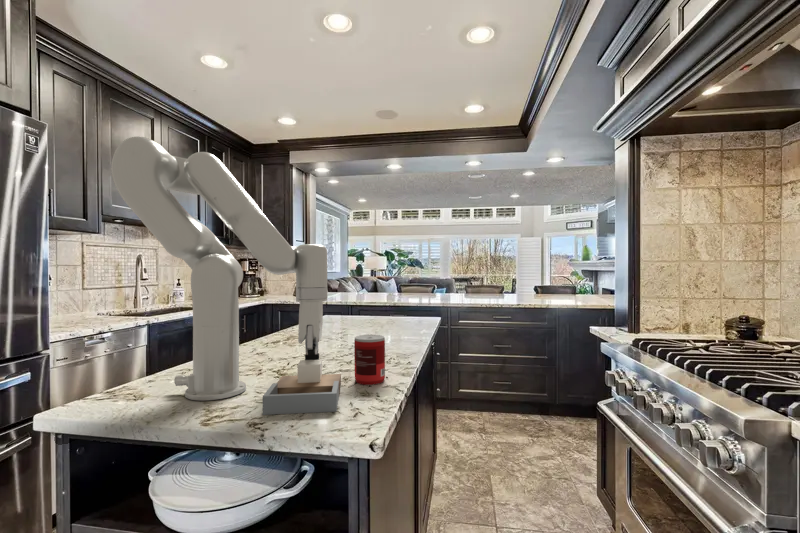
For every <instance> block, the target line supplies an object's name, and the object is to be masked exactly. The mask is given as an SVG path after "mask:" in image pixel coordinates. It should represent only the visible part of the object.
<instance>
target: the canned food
mask: <svg viewBox="0 0 800 533" xmlns="http://www.w3.org/2000/svg"><path fill="white" fill-rule="evenodd" d="M353 344H354V355H353V356H354V380H355V382H356V383H357V384H359V385H364V386H371V385H373V384H374V385H378V384H379V385H380V384H382V383H384V381H385V379H386V339H385V335H380V334H361V335H356V336H354V342H353ZM374 385H373V386H374Z"/></svg>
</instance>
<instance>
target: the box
mask: <svg viewBox="0 0 800 533" xmlns="http://www.w3.org/2000/svg"><path fill="white" fill-rule="evenodd" d="M339 397H340V393H339V381H334V384H333V389H332V392H321V393H296V394H278V383H277V382H276V383H275V382H274V383H272V384H271V385H270V386H269V387H268V389H267V390H266V392H265V393H264V394H263V395H262V416H264V415H266V416H267V415H269V416H270V415H286V414H289V415H291V414H312V413H331V412H337V411H338V406H339V399H340V398H339Z"/></svg>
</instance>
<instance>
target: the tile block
mask: <svg viewBox="0 0 800 533" xmlns="http://www.w3.org/2000/svg"><path fill="white" fill-rule="evenodd" d="M297 375H298V383H311V382H321V378H322V375H323V359H319V360H305V359H302V360H301V359H300V361H299V362H298V364H297Z"/></svg>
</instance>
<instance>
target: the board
mask: <svg viewBox="0 0 800 533" xmlns="http://www.w3.org/2000/svg"><path fill="white" fill-rule="evenodd" d="M334 381H339V394H340V392H341V384H342V374H341V373H330V374H322V378H321V382H311V383H298V374H297V375H282V376H281V377H280V378H279V380H277V382H276V383H278V394H296V393H321V392H332V389H333V384H334Z"/></svg>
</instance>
